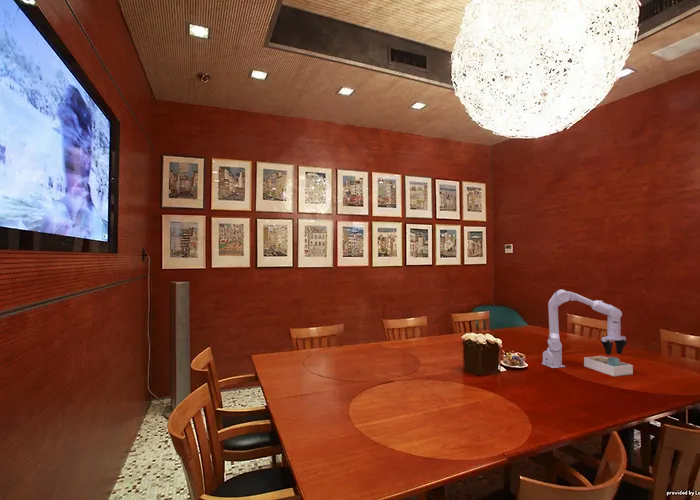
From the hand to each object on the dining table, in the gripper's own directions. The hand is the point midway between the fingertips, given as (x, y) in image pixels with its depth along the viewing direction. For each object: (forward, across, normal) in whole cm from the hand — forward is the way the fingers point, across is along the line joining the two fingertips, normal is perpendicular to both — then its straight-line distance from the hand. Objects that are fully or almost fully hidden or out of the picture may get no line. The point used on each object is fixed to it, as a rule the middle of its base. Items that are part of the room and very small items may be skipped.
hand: (613, 354), depth 189 cm
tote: (+10, 0, +4) cm, 11 cm away
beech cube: (+9, 0, +8) cm, 12 cm away
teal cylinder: (+9, 0, 0) cm, 9 cm away
